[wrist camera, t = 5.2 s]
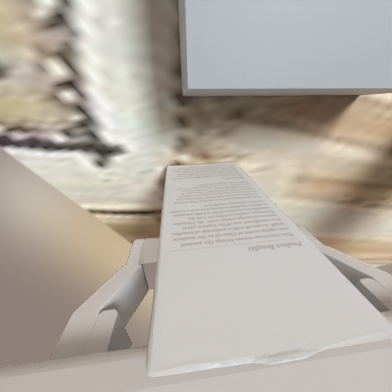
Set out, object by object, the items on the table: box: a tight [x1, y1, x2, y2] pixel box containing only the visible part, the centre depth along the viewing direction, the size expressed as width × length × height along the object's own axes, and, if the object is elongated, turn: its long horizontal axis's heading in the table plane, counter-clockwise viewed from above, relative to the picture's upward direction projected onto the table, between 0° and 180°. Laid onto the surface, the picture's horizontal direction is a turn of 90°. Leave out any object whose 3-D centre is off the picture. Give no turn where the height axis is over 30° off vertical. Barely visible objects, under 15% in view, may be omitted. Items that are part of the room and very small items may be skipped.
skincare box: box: [146, 162, 392, 377], centre depth 9 cm, size 6×4×12 cm
